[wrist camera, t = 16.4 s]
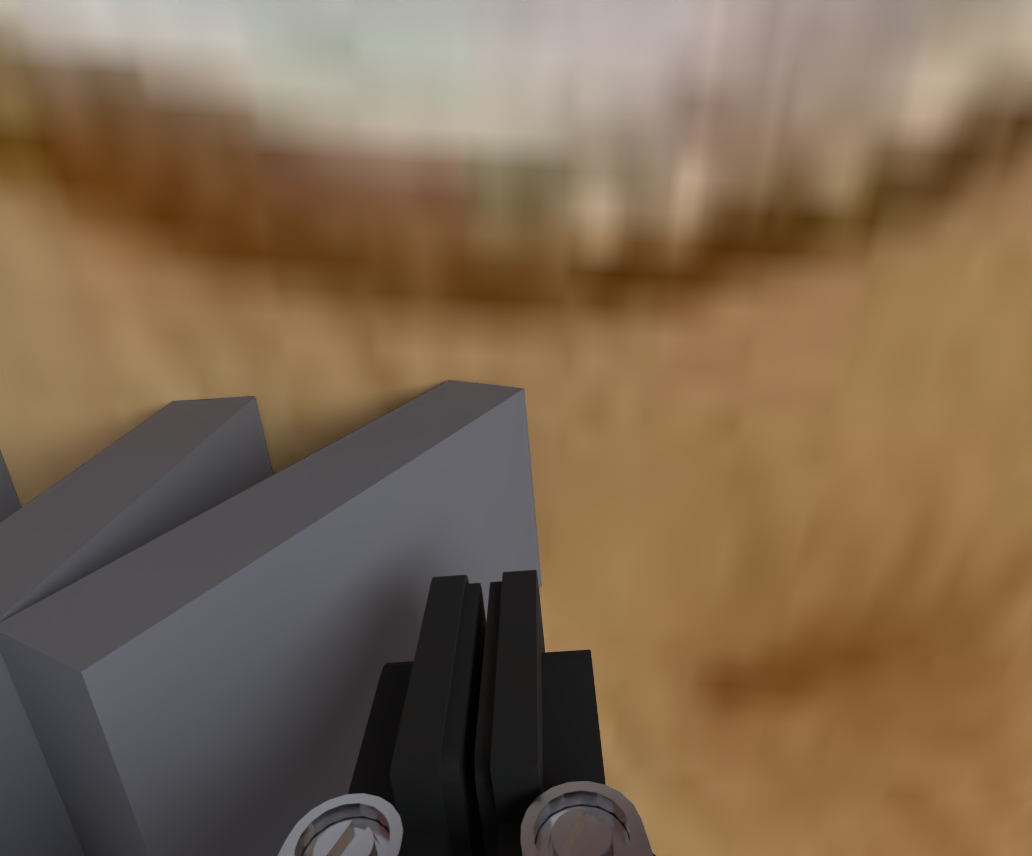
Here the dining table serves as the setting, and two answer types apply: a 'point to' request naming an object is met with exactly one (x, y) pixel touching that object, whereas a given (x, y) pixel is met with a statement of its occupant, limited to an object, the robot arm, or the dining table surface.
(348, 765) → the domino
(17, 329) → the dining table surface
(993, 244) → the dining table surface
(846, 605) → the dining table surface
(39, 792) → the domino
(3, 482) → the domino
